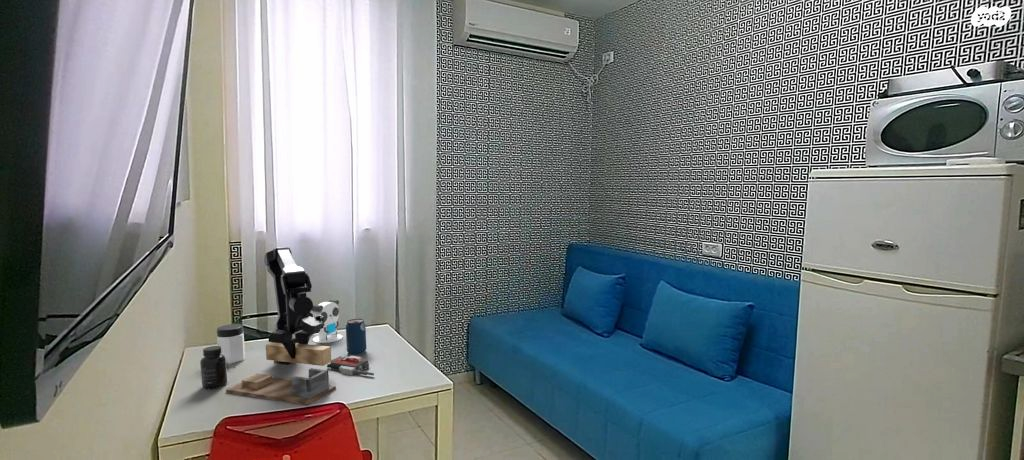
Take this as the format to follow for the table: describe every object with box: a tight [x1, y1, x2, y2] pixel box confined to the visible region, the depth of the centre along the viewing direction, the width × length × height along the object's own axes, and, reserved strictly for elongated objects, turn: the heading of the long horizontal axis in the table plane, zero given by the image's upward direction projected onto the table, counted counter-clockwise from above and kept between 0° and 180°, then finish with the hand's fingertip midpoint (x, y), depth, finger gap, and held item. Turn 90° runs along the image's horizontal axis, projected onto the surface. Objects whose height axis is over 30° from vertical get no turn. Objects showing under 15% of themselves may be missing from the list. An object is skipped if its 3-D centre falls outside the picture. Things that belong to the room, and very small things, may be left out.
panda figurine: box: [311, 299, 343, 344], centre depth 206 cm, size 12×11×15 cm
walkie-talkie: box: [326, 355, 375, 376], centre depth 171 cm, size 9×4×20 cm
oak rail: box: [265, 342, 332, 367], centre depth 166 cm, size 22×4×5 cm, turn 73°
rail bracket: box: [225, 367, 337, 406], centre depth 154 cm, size 30×12×6 cm, turn 71°
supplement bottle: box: [199, 345, 228, 390], centre depth 158 cm, size 7×7×12 cm
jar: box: [216, 323, 246, 365], centre depth 182 cm, size 9×8×12 cm
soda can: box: [345, 318, 367, 356], centre depth 188 cm, size 7×7×12 cm
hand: (298, 356), depth 166 cm, fingers closed on oak rail, 4 cm apart
